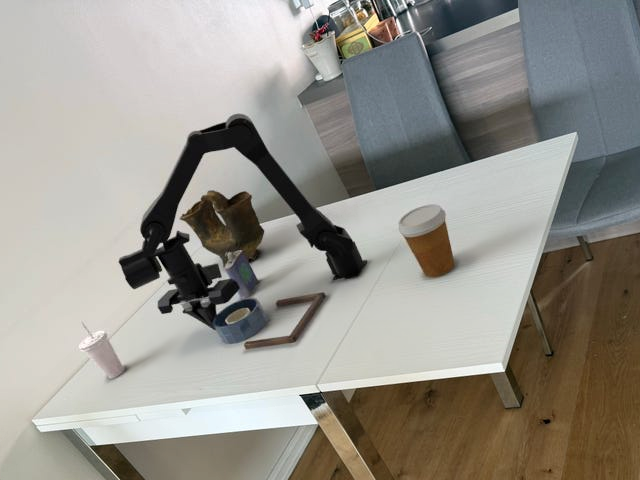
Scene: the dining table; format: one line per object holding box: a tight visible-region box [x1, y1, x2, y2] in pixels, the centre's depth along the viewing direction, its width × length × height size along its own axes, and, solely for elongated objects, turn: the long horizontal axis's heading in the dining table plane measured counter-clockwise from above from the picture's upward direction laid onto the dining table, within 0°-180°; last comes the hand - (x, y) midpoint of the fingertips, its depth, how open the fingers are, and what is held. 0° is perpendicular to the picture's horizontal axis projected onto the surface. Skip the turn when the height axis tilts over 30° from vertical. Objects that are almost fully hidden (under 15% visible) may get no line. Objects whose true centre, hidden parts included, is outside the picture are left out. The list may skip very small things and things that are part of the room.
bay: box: [243, 291, 326, 350], centre depth 142 cm, size 12×16×2 cm
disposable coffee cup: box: [397, 203, 456, 278], centre depth 133 cm, size 10×10×12 cm
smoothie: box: [78, 321, 125, 379], centre depth 151 cm, size 6×6×14 cm
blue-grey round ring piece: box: [212, 297, 269, 345], centre depth 146 cm, size 11×11×5 cm
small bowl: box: [225, 308, 251, 325], centre depth 146 cm, size 6×6×3 cm
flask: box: [224, 250, 260, 300], centre depth 162 cm, size 9×3×11 cm, turn 172°
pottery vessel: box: [179, 189, 265, 269], centre depth 179 cm, size 25×11×20 cm, turn 56°
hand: (216, 328), depth 150 cm, fingers closed
